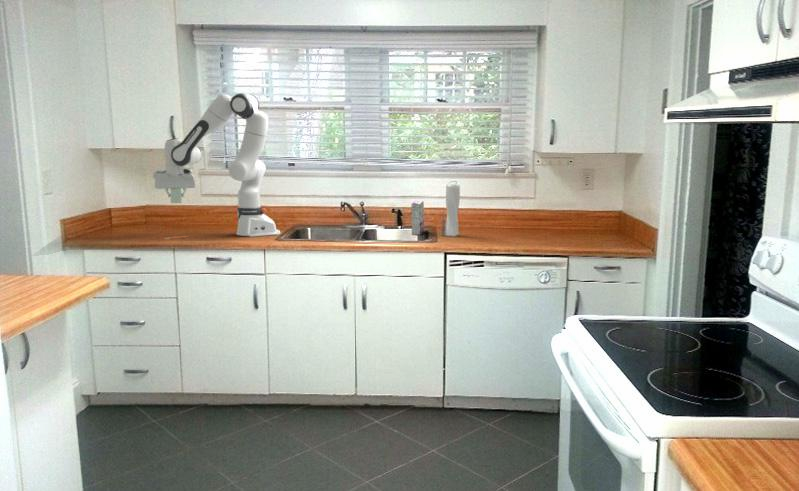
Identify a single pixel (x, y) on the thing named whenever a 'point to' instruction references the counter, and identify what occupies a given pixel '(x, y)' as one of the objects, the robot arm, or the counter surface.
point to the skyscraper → (451, 210)
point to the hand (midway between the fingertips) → (176, 197)
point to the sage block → (176, 195)
